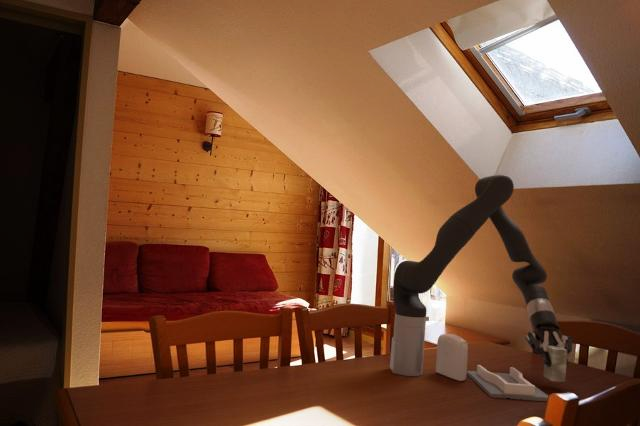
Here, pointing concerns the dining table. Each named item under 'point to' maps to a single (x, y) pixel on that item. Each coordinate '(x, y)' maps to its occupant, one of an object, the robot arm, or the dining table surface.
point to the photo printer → (452, 356)
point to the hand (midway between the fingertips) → (557, 365)
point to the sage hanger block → (556, 364)
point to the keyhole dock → (506, 385)
